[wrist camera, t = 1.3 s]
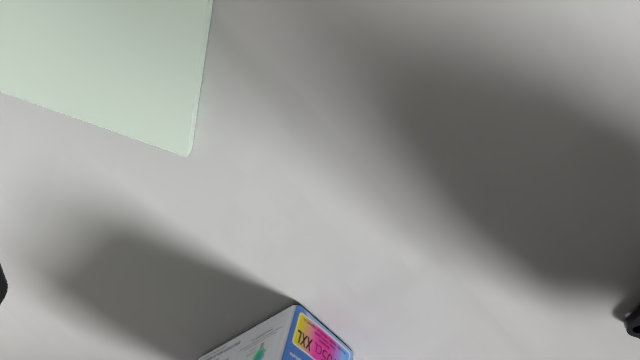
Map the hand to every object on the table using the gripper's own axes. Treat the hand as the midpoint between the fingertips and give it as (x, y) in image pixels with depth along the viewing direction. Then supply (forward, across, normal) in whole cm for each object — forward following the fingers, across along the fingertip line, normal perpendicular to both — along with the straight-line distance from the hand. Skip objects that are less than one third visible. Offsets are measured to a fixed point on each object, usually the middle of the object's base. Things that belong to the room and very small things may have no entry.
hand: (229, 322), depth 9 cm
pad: (+13, +11, 0) cm, 17 cm away
